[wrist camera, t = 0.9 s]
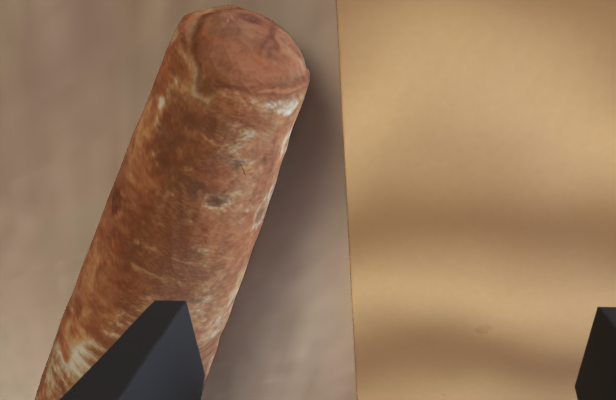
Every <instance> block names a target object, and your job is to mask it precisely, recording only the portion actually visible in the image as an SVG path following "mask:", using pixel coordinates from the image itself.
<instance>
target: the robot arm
mask: <svg viewBox="0 0 616 400" xmlns="http://www.w3.org/2000/svg"><path fill="white" fill-rule="evenodd" d="M204 379H205V372H204V368H203V364H202V360H201V356H200V352H199V348H198V345H197V341H196V337H195V333H194V329H193V325H192V321H191V317H190V313H189V310H188V306H187V302H186V301H172V300H155V301H154V302H153V303H152V304H151V305H150V306H149V307H148V308H147V309H146V310H145V311H144V312H143V313H142V314H141V315H140V316H139V317H138V318H137V319H136V320H135V321H134V322H133V323H132V324H131V326H130V327H129V328H128V329H127V330H126V331H125V332H124V333H123V334H122V335H121V336H120V337H119V338H118V339H117V341H116V342H115V343H114V344H113V345H112V346H111V347H110V348H109V349H108V350H107V351H106V352H105V353H104V354H103V355H102V356H101V358H100V359H99V360H98V361H97V362H96V363H95V364H94V365H93V366H92V367H91V368H90V369H89V370H88V371H87V372H86V373H85V374H84V375H83V376H82V377H81V378H80V379H79V380H78V381H77V382H76V383H75V384H74V385H73V386H72V387H71V388H70V389H69V390H68V391H67V392H66V393H65V394H64V395H63V396H62V397H61V398H60V399H59V400H201V395H202V390H203V385H204ZM575 391H576V395H577V399H578V400H616V307H597V311H596V314H595V318H594V321H593V324H592V328H591V331H590V335H589V338H588V342H587V345H586V349H585V352H584V356H583V359H582V363H581V366H580V370H579V373H578V376H577V380H576V383H575Z"/></svg>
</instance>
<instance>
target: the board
mask: <svg viewBox="0 0 616 400" xmlns="http://www.w3.org/2000/svg"><path fill="white" fill-rule="evenodd" d="M336 9H337V28H338V47H339V66H340V85H341V104H342V123H343V142H344V161H345V180H346V199H347V218H348V237H349V256H350V275H351V294H352V313H353V332H354V351H355V370H356V389H357V400H578V399H577V395H576V391H575V383H576V380H577V376H578V373H579V370H580V366H581V363H582V359H583V356H584V352H585V349H586V345H587V342H588V338H589V335H590V331H591V328H592V324H593V321H594V318H595V314H596V311H597V307H616V0H336Z"/></svg>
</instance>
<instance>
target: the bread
mask: <svg viewBox="0 0 616 400" xmlns="http://www.w3.org/2000/svg"><path fill="white" fill-rule="evenodd" d="M309 81H310V72H309V70H308V69H307V67H306V64H305V61H304V58H303V55H302V53H301V51H300V49H299V47H298V46H297V45H296V43H295V42H294V40H293V39H292V37H291V36H290V35H289V34H288V33H287V32H286V31H285V30H284V29H282V28H281V27H280V26H279V25H277V24H276V23H274V22H273V21H271V20H269V19H268V18H266V17H263V16H261V15H259V14H257V13H253V12H250V11H246V10H244V9H242V8H239V7H236V6H233V5H232V6H220V7H215V8H212V9H205V10H201V11H197V12H193V13H190V14H187V15H185V16H184V17H183V18H182V20H181V21H180V23H179V25H178V27H177V29H176V31H175V33H174V35H173V37H172V39H171V41H170V44H169V46H168V48H167V50H166V53H165V56H164V59H163V62H162V64H161V67H160V69H159V72H158V74H157V77H156V80H155V82H154V85H153V88H152V91H151V93H150V96H149V98H148V101H147V103H146V106H145V108H144V111H143V113H142V116H141V118H140V120H139V122H138V124H137V126H136V129H135V131H134V133H133V136H132V138H131V141H130V144H129V146H128V149H127V152H126V154H125V157H124V160H123V162H122V165H121V168H120V170H119V173H118V175H117V178H116V180H115V183H114V185H113V188H112V190H111V193H110V195H109V198H108V200H107V203H106V206H105V209H104V211H103V214H102V217H101V219H100V222H99V225H98V227H97V230H96V233H95V235H94V238H93V240H92V243H91V245H90V248H89V250H88V253H87V255H86V258H85V260H84V263H83V266H82V269H81V272H80V274H79V277H78V280H77V283H76V286H75V289H74V291H73V294H72V296H71V298H70V300H69V303H68V305H67V307H66V310H65V312H64V314H63V317H62V319H61V322H60V325H59V329H58V332H57V335H56V338H55V340H54V344H53V347H52V350H51V353H50V356H49V358H48V361H47V363H46V366H45V369H44V372H43V375H42V378H41V381H40V385H39V388H38V390H37V394H36V398H35V400H59V399H60V398H61V397H62V396H63V395H64V394H65V393H66V392H67V391H68V390H69V389H70V388H71V387H72V386H73V385H74V384H75V383H76V382H77V381H78V380H79V379H80V378H81V377H82V376H83V375H84V374H85V373H86V372H87V371H88V370H89V369H90V368H91V367H92V366H93V365H94V364H95V363H96V362H97V361H98V360H99V359H100V358H101V356H102V355H103V354H104V353H105V352H106V351H107V350H108V349H109V348H110V347H111V346H112V345H113V344H114V343H115V342H116V341H117V339H118V338H119V337H120V336H121V335H122V334H123V333H124V332H125V331H126V330H127V329H128V328H129V327H130V326H131V324H132V323H133V322H134V321H135V320H136V319H137V318H138V317H139V316H140V315H141V314H142V313H143V312H144V311H145V310H146V309H147V308H148V307H149V306H150V305H151V304H152V303H153V302H154V301H155V300H172V301H186V302H187V306H188V310H189V313H190V317H191V321H192V325H193V329H194V333H195V337H196V341H197V345H198V348H199V352H200V356H201V360H202V364H203V368H204V372H205V379H204V382H205V380H206V378H207V375H208V373H209V370H210V366H211V363H212V362H213V359H214V356H215V353H216V351H217V348H218V343H219V337H220V335H221V333H222V331H223V330H224V328H225V325H226V323H227V321H228V318H229V315H230V313H231V309H232V306H233V303H234V300H235V298H236V295H237V292H238V290H239V287H240V284H241V282H242V279H243V276H244V274H245V271H246V268H247V265H248V262H249V259H250V255H251V252H252V250H253V247H254V244H255V241H256V239H257V236H258V234H259V231H260V229H261V226H262V223H263V220H264V217H265V214H266V211H267V208H268V205H269V201H270V199H271V196H272V194H273V191H274V188H275V185H276V181H277V177H278V173H279V169H280V166H281V163H282V160H283V157H284V155H285V152H286V150H287V146H288V142H289V137H290V134H291V131H292V128H293V125H294V123H295V120H296V118H297V116H298V113H299V111H300V109H301V106H302V103H303V100H304V97H305V94H306V91H307V88H308V85H309Z"/></svg>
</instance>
